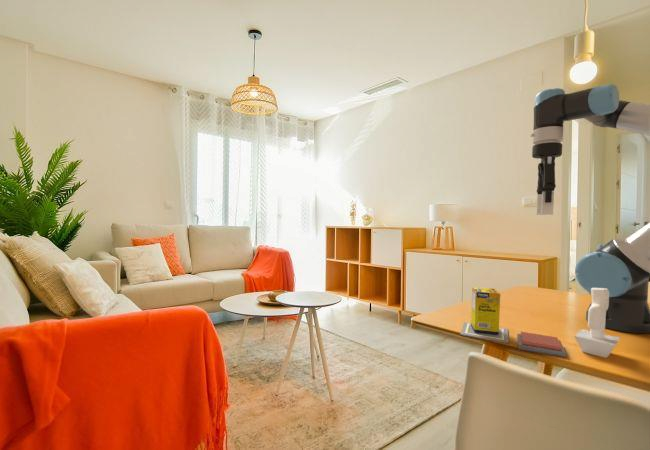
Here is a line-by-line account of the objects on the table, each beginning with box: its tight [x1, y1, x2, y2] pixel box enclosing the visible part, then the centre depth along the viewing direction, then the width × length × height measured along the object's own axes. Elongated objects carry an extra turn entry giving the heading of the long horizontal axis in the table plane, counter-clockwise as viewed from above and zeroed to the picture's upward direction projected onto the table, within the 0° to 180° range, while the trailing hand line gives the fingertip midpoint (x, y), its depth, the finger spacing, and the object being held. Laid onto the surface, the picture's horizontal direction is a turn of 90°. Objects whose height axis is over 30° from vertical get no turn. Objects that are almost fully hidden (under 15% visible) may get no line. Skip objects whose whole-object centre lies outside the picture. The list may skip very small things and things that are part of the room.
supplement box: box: [470, 286, 501, 335], centre depth 90 cm, size 6×6×11 cm
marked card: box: [460, 321, 510, 344], centre depth 90 cm, size 11×11×1 cm
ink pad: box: [516, 331, 567, 358], centre depth 80 cm, size 9×8×2 cm
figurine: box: [573, 288, 621, 359], centre depth 78 cm, size 7×9×15 cm
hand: (544, 214), depth 102 cm, fingers open, 13 cm apart
